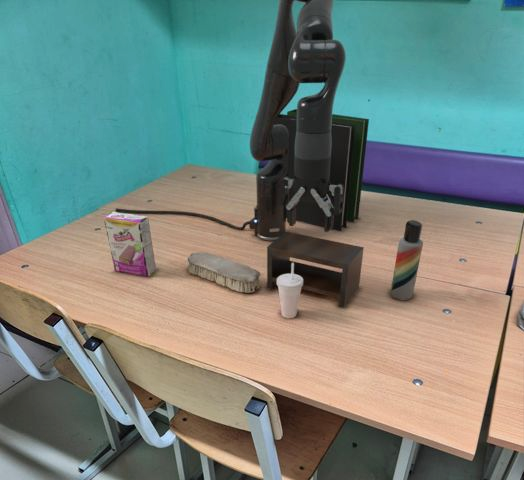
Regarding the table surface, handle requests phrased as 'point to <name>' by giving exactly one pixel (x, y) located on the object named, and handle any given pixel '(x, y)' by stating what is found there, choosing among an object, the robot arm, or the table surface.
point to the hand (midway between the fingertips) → (309, 227)
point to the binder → (334, 167)
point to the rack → (319, 253)
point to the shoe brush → (224, 272)
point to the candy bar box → (130, 243)
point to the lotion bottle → (407, 261)
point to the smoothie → (289, 293)
